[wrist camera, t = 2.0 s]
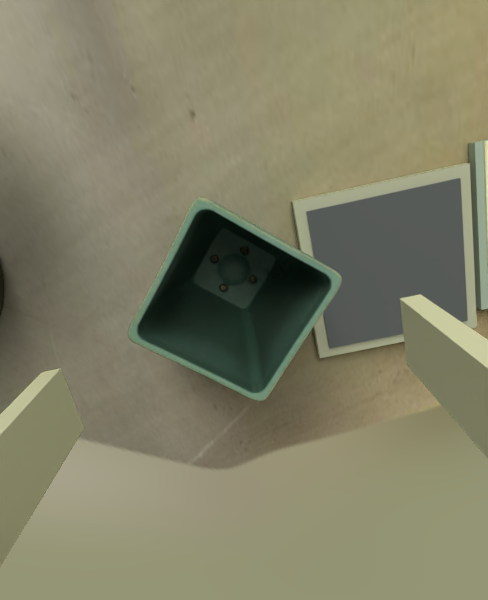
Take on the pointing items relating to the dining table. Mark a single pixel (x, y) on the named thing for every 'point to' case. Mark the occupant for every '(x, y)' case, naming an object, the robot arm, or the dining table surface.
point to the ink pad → (390, 254)
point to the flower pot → (232, 301)
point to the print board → (480, 218)
